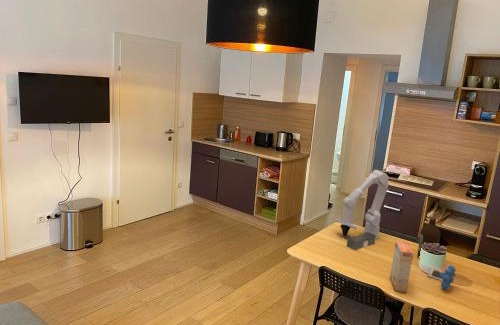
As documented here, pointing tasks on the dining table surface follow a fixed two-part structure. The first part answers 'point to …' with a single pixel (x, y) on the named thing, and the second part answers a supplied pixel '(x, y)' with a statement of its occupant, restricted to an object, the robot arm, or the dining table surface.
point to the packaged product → (438, 273)
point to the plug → (363, 241)
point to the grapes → (447, 277)
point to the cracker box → (401, 266)
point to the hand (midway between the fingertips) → (344, 235)
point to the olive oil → (429, 234)
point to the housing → (360, 240)
